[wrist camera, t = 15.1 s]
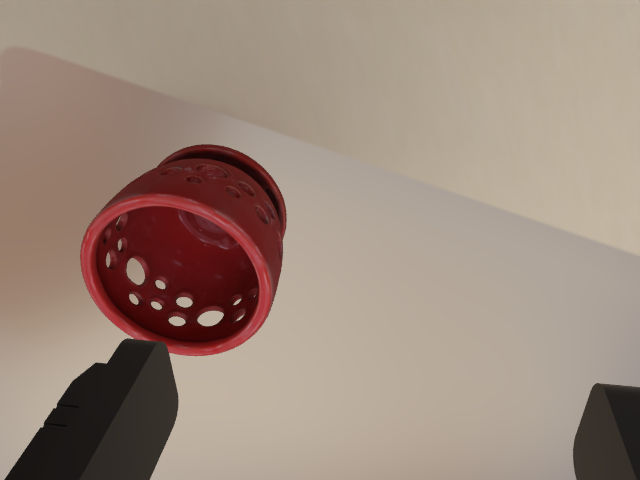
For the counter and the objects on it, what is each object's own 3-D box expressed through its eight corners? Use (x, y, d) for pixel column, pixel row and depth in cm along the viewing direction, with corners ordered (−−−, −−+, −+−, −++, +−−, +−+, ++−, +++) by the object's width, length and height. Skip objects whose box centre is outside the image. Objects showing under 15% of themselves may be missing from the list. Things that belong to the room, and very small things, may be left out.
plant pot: (285, 281, 51) (252, 380, 41) (144, 241, 51) (76, 330, 41) (319, 152, 43) (288, 233, 33) (154, 104, 43) (74, 172, 33)
